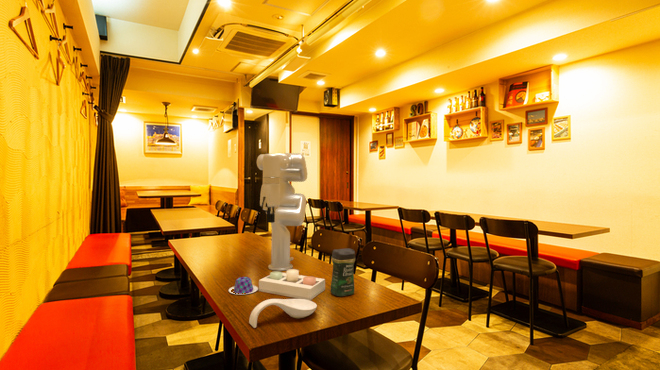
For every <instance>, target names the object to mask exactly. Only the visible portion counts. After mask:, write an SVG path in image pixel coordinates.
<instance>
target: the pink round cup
mask: <svg viewBox="0 0 660 370" xmlns="http://www.w3.org/2000/svg"><path fill="white" fill-rule="evenodd" d="M306 276H307V275H306ZM316 278H317V277H315V276H313V275H312V276H307V277H304V278H303V284H304V285H311V286H313V285H315V284H316Z"/></svg>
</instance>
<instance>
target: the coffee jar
mask: <svg viewBox="0 0 660 370" xmlns="http://www.w3.org/2000/svg"><path fill="white" fill-rule="evenodd" d="M331 254H332V255H331V261H332V273H331V274H332V275H331V281H330V282H331V283H330V293H331V294H332V295H334V296H337V297H345V296H351V295H354V294H355V277H354V275H355V274H354V273H355V272H354V269H355V268H354V265H355V262H356V252H355V250H354V249H352V248H349V247H348V248H339V249H333V250H332V252H331Z"/></svg>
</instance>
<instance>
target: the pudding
mask: <svg viewBox="0 0 660 370" xmlns="http://www.w3.org/2000/svg"><path fill="white" fill-rule="evenodd" d="M232 289H234V291H233V292H235V293H236V294H238V293H239V294H238V295H243V294H244V293H246V295H249V294H253V293H255V292H257V291H259V286H256V285H254V284H253V282H252V278H251V277H249V276H242V277H241V276H240V277H238V278H236V280H235V284H234V286H232V287H229V289H228V292H229V293H230V294H232V295H236V294H235V293H233V292H231V290H232ZM242 293H243V294H242Z"/></svg>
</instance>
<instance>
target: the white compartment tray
mask: <svg viewBox="0 0 660 370" xmlns="http://www.w3.org/2000/svg"><path fill="white" fill-rule="evenodd" d="M304 277H307V275H302V274H299V281H298V282H296V283H292V282H286V272H282V279H280V280H274V279H270V274H269V275H267V276H265V277H263V278H261V279H259V280H258V292H262V293H268V294H274V295H277V296H285V297H290V298H293V299H306V300H310V301H312V300H313V299H314V298H315V297H317V296H318V295H319V294H321V293H322V292H324V291H325V290H326V279H325V278H320V277H315V278H316V284H315V285H313V286H311V285H304V284H303V278H304Z"/></svg>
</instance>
